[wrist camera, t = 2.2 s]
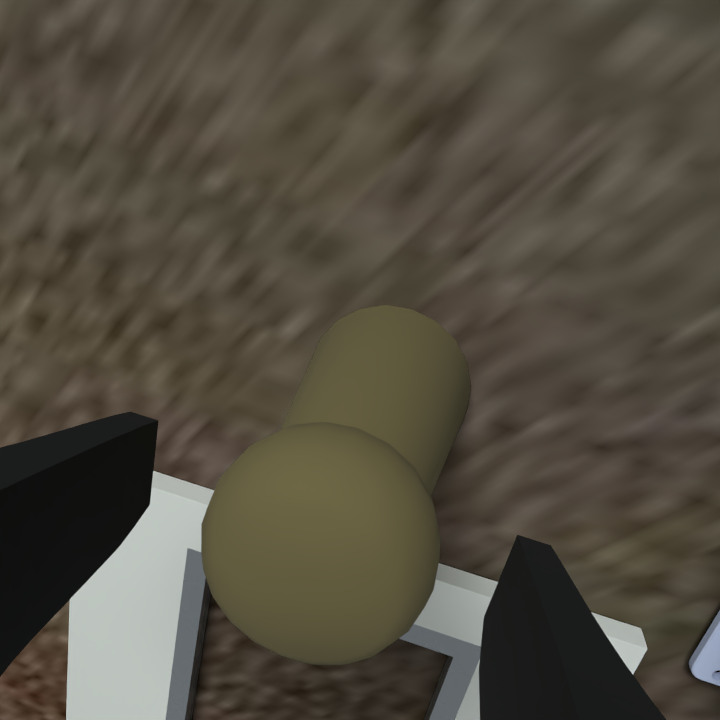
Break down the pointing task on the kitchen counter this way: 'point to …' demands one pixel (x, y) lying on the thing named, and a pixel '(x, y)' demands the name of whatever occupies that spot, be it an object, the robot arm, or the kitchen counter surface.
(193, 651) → the white picture frame
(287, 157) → the kitchen counter surface
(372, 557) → the cork
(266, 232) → the kitchen counter surface
